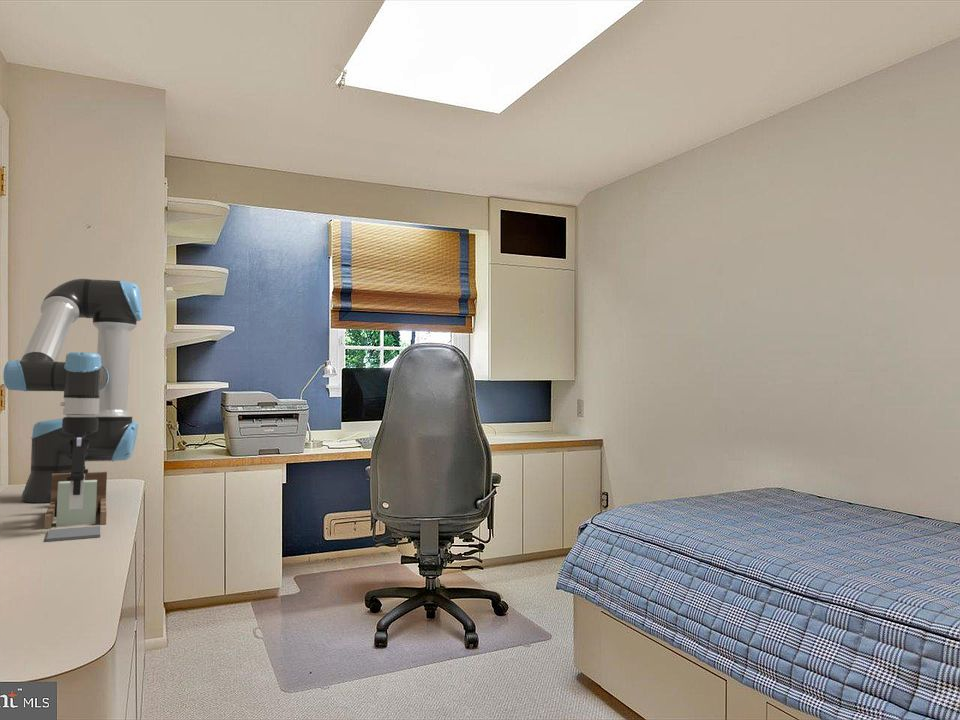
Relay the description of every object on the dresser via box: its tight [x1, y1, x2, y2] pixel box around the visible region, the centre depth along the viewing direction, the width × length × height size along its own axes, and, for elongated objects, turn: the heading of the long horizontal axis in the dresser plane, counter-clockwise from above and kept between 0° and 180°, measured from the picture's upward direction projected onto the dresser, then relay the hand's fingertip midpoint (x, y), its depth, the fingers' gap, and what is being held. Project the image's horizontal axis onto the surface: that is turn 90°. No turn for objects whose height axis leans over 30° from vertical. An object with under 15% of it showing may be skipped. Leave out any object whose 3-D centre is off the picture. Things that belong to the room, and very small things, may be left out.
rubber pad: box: [45, 525, 101, 542], centre depth 148 cm, size 10×10×1 cm
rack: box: [44, 471, 108, 530], centre depth 167 cm, size 22×12×10 cm, turn 30°
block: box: [55, 480, 97, 527], centre depth 161 cm, size 4×8×10 cm, turn 120°
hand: (76, 504), depth 160 cm, fingers open, 13 cm apart
